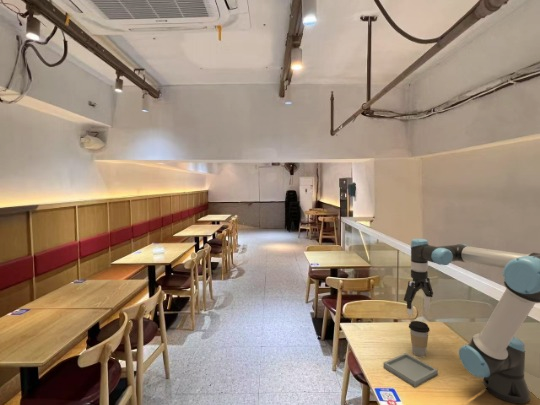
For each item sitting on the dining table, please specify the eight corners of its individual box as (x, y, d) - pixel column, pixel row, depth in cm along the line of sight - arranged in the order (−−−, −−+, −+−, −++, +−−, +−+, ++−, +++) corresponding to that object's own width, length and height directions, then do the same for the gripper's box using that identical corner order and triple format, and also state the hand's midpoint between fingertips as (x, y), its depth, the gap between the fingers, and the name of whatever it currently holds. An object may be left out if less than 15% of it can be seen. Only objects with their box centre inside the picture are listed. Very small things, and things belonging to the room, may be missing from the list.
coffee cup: (432, 359, 144) (432, 329, 143) (411, 357, 146) (411, 327, 145) (426, 349, 153) (426, 320, 152) (406, 347, 155) (406, 319, 154)
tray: (437, 375, 132) (437, 369, 132) (415, 387, 124) (415, 381, 124) (405, 357, 146) (405, 352, 146) (383, 367, 138) (383, 362, 138)
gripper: (427, 264, 157) (426, 304, 158) (396, 272, 145) (395, 314, 146) (441, 268, 150) (440, 309, 152) (410, 275, 138) (409, 320, 139)
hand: (418, 312), depth 149 cm, fingers open, 13 cm apart
